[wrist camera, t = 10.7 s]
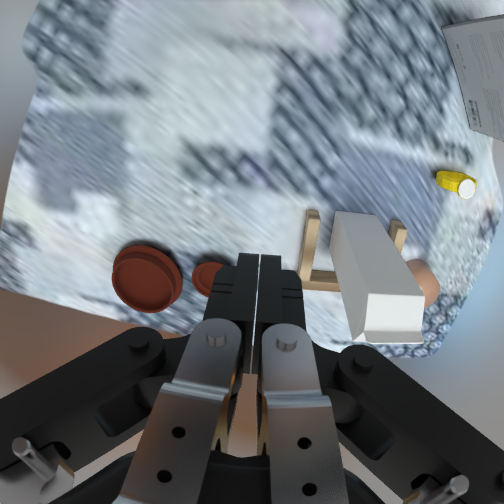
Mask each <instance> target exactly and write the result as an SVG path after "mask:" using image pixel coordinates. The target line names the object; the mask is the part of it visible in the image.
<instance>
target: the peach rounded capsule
mask: <svg viewBox="0 0 504 504" xmlns="http://www.w3.org/2000/svg"><path fill="white" fill-rule="evenodd" d="M406 264H407V266H408V267H409V269H410V271H411V273H412V274H413V276H414V278H415V279H416V281H417V283H418V285H419V286H420V288H421V290H422V292H423V294H424V295H425V303H424V308H425V307H427V306H429V305H431V304H432V303H433V302H434V301H435V300H436V299H437V297H438V295H439V293H440V284H439V282H438V280H437V279H436V277H435V276H434V274H433V273H432V271H431V270H430V268H429V267H428V265H427V264H426V263H425V262H424V261H422V260H419V259H414V260H410V261H408V262H406Z"/></svg>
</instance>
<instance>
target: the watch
mask: <svg viewBox="0 0 504 504" xmlns="http://www.w3.org/2000/svg"><path fill="white" fill-rule="evenodd" d="M436 183H437V184H438V185H439V186H441V187H443V188H445V189H447V190H450V191H453V192H457V193H458V195H459V196H460V197H461V198H463V199H469V198H471V197H472V196H473V194H474V192H475V191H476V185H477V182H476V180H475V179H474V178H472V177H470V176H468V175H465V174H462V173H459V172H451V171H442V170H441V171H438V172H437V176H436Z"/></svg>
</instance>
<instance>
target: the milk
mask: <svg viewBox="0 0 504 504" xmlns="http://www.w3.org/2000/svg"><path fill="white" fill-rule="evenodd" d="M329 250H330V254H331V257H332V261H333V265H334V268H335V272H336V276H337V279H338V283H339V287H340V291H341V295H342V299H343V303H344V306H345V310H346V315H347V319H348V323H349V327H350V331H351V335H352V340H353V341H362V342H368V343H370V344H420V343H424V338H423V336H422V334H421V326H422V319H423V311H424V303H425V295H424V294H423V292H422V290H421V288H420V286H419V285H418V283H417V281H416V279H415V278H414V276H413V274H412V273H411V271H410V269H409V267H408V266H407V264H406V262H405V261H404V259H403V257H402V256H401V254H400V253H399V251H398V249H397V248H396V246H395V244H394V243H393V241H392V240H391V238H390V237H389V235H388V233H387V232H386V230H385V229H384V227H383V226H382V224H381V223H380V221H379V220H378V218H377V217H376V215H371V214H362V213H353V212H344V211H335V217H334V223H333V228H332V234H331V239H330V245H329Z"/></svg>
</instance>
